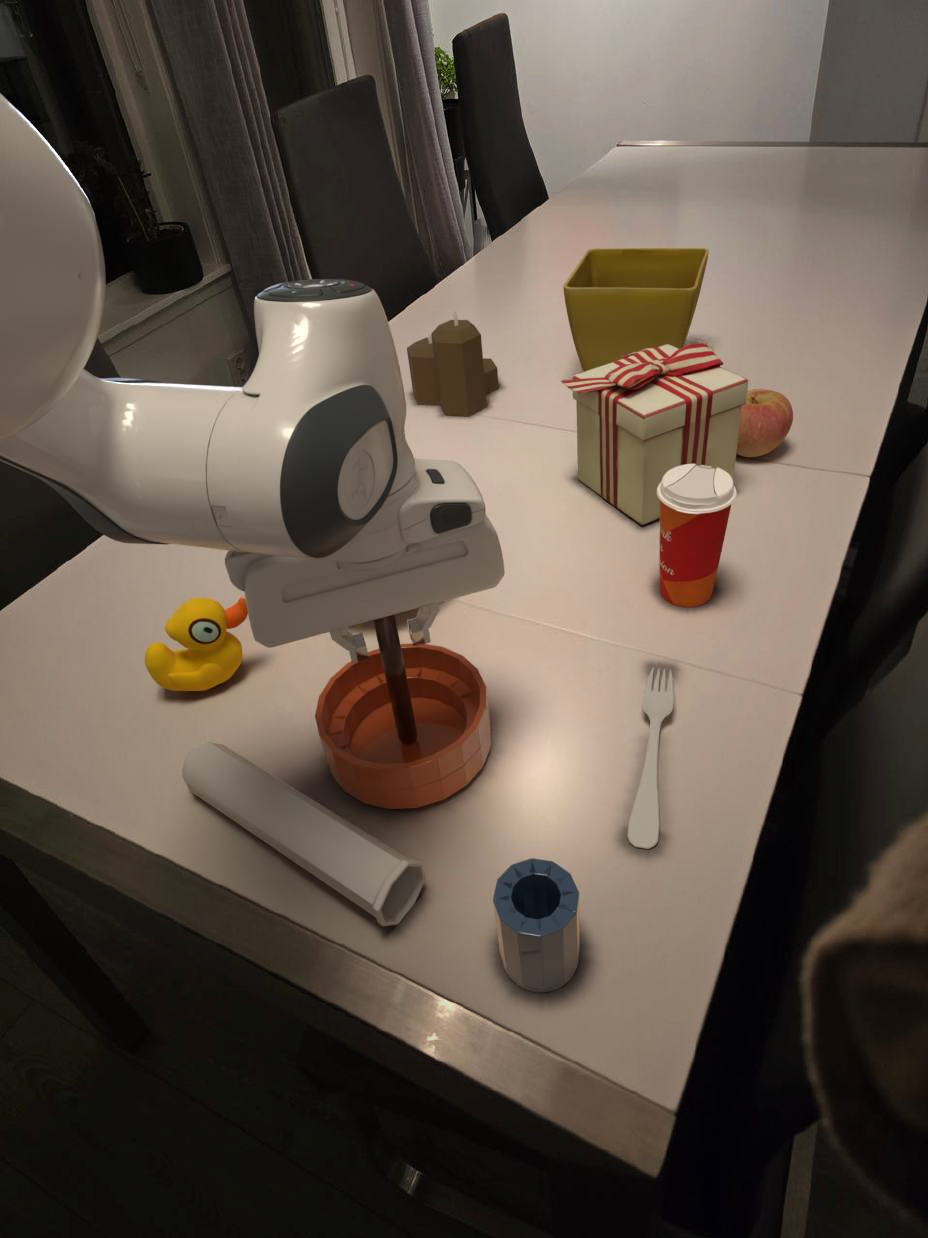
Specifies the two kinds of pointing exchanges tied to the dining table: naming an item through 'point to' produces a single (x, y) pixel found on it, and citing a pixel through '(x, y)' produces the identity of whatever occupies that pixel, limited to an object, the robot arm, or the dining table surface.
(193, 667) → the duckling
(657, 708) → the fork
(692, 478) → the paper cup
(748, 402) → the apple
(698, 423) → the gift box
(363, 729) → the orange round shallow dish
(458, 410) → the candle
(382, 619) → the stirring stick
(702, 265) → the flower pot
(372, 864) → the tube
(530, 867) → the crock
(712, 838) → the dining table surface
